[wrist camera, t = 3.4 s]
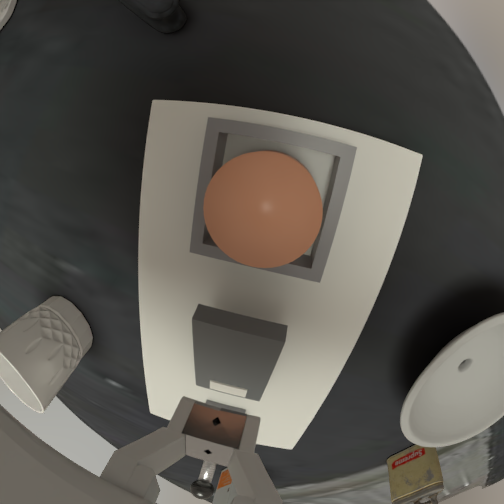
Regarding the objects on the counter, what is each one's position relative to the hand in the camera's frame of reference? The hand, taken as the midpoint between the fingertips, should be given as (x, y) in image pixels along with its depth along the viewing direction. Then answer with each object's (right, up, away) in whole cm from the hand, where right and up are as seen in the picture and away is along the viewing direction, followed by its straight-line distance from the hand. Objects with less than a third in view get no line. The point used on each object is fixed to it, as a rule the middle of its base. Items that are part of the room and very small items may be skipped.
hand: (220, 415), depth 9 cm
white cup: (-18, -1, +15) cm, 24 cm away
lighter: (+22, -20, +16) cm, 34 cm away
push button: (+2, +8, +3) cm, 9 cm away
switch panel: (+1, +2, +10) cm, 11 cm away
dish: (+20, -3, +10) cm, 23 cm away
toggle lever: (-1, -8, +10) cm, 13 cm away
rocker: (0, 0, +6) cm, 6 cm away
